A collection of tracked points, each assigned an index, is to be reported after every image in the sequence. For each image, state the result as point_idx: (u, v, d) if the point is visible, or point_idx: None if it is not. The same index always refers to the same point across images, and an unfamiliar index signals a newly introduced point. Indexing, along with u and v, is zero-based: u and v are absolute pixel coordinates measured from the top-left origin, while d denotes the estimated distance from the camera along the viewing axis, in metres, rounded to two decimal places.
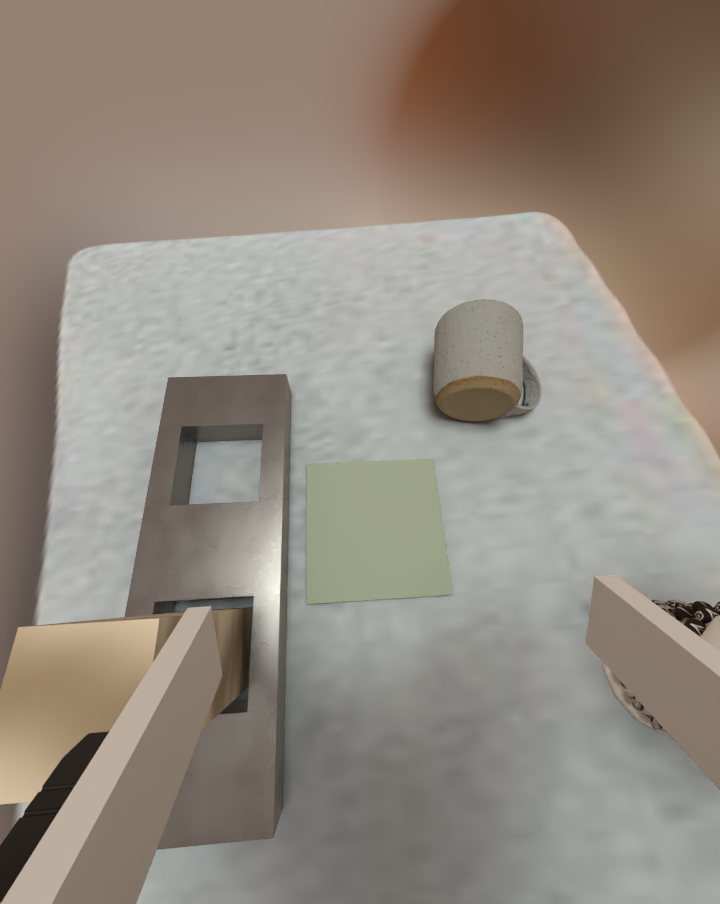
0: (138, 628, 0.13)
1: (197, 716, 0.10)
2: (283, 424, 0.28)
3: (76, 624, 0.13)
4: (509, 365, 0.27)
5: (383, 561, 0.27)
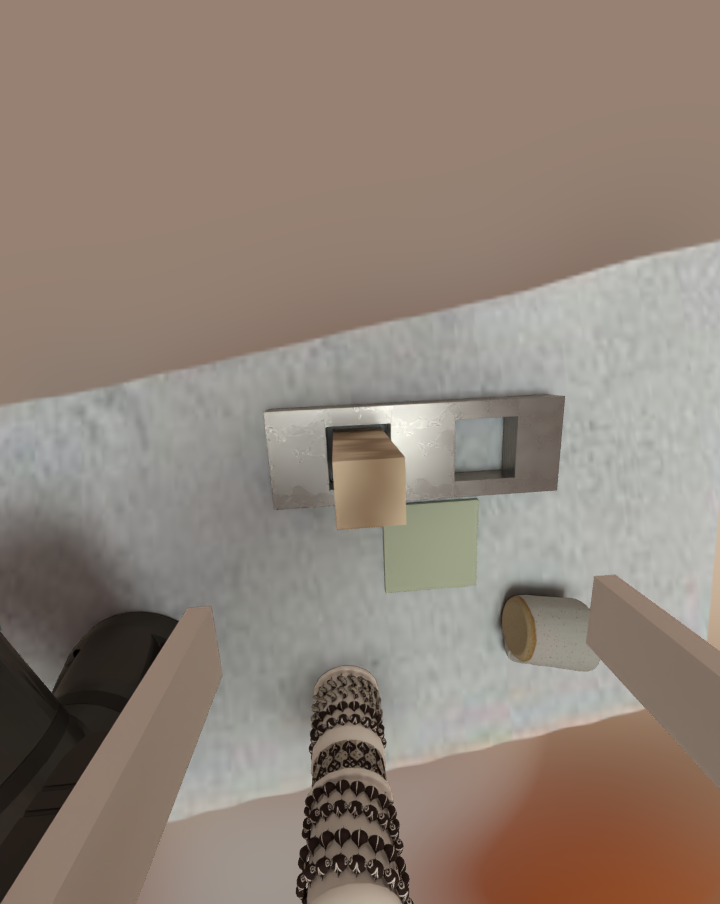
0: (402, 515, 0.25)
1: (197, 716, 0.10)
2: (512, 492, 0.37)
3: (405, 484, 0.24)
4: (542, 661, 0.37)
5: (407, 552, 0.40)
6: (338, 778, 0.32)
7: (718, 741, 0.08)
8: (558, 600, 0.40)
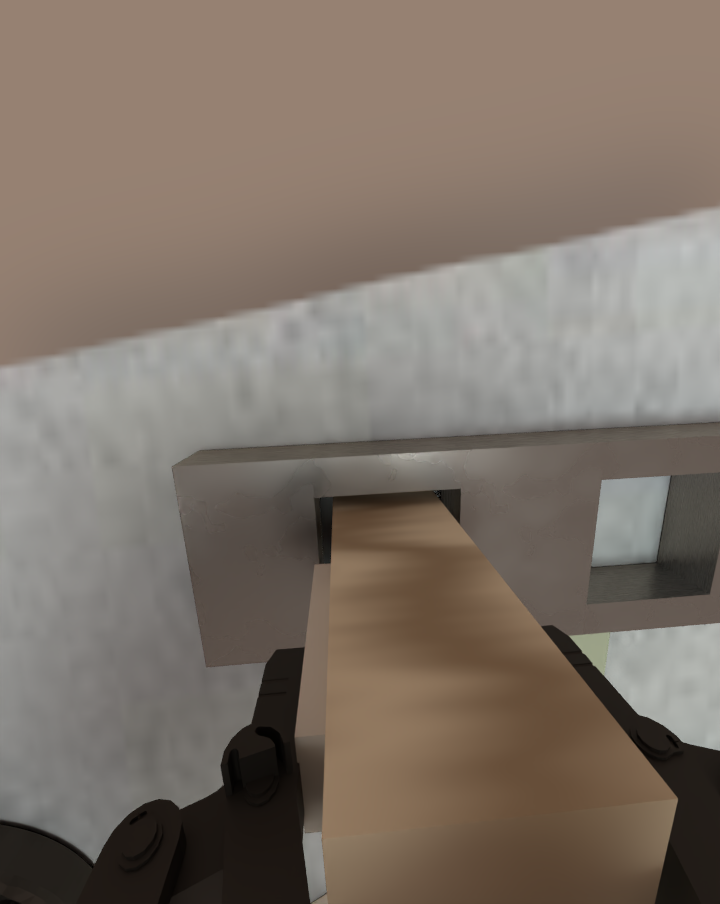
0: None
1: None
2: (701, 622, 0.18)
3: (649, 885, 0.05)
4: None
5: None
6: None
7: None
8: None
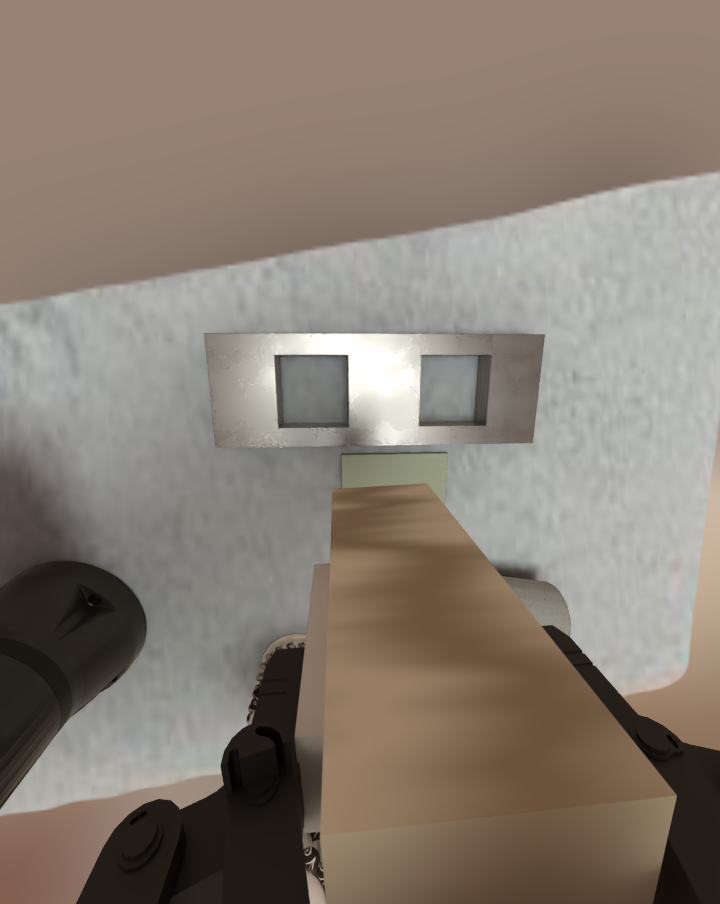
0: None
1: None
2: (483, 442, 0.33)
3: (647, 882, 0.05)
4: None
5: None
6: None
7: None
8: (527, 581, 0.37)
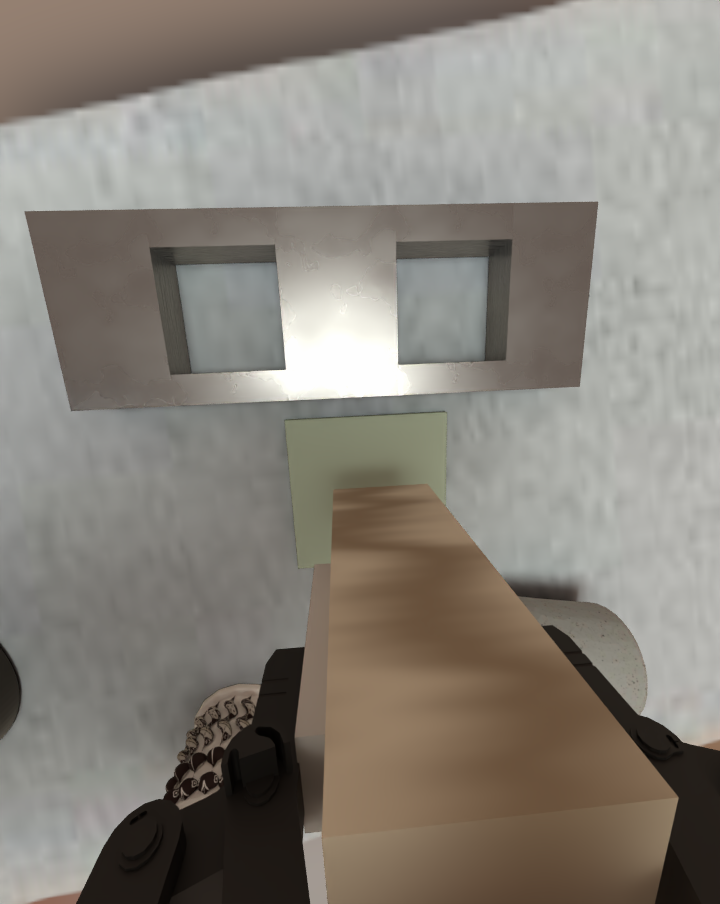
0: None
1: None
2: (502, 388, 0.21)
3: (649, 884, 0.05)
4: None
5: (330, 501, 0.25)
6: None
7: None
8: (571, 606, 0.25)
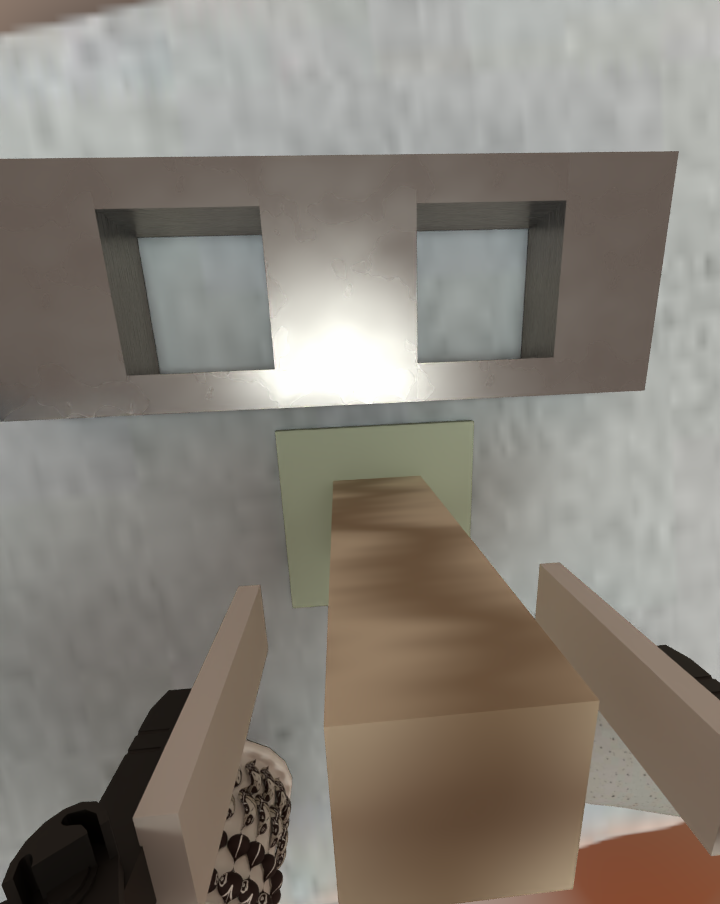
0: (562, 867, 0.07)
1: (253, 682, 0.11)
2: (547, 392, 0.17)
3: None
4: (594, 801, 0.18)
5: None
6: None
7: (629, 707, 0.09)
8: None
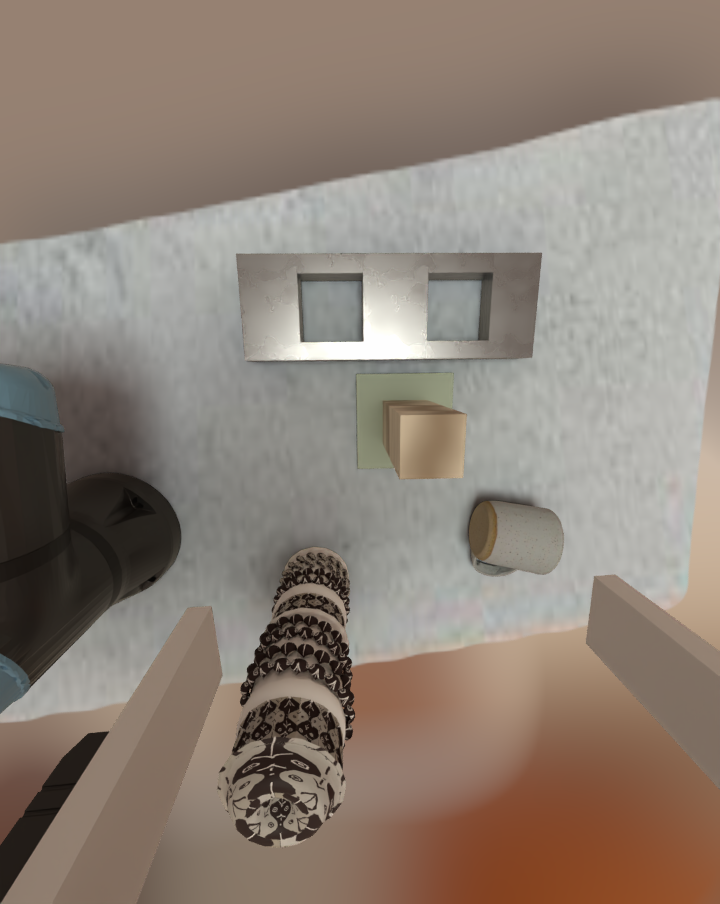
0: (459, 469, 0.27)
1: (197, 716, 0.10)
2: (486, 356, 0.36)
3: (464, 439, 0.27)
4: (502, 557, 0.38)
5: (380, 426, 0.40)
6: (292, 615, 0.32)
7: (718, 741, 0.08)
8: (524, 505, 0.40)
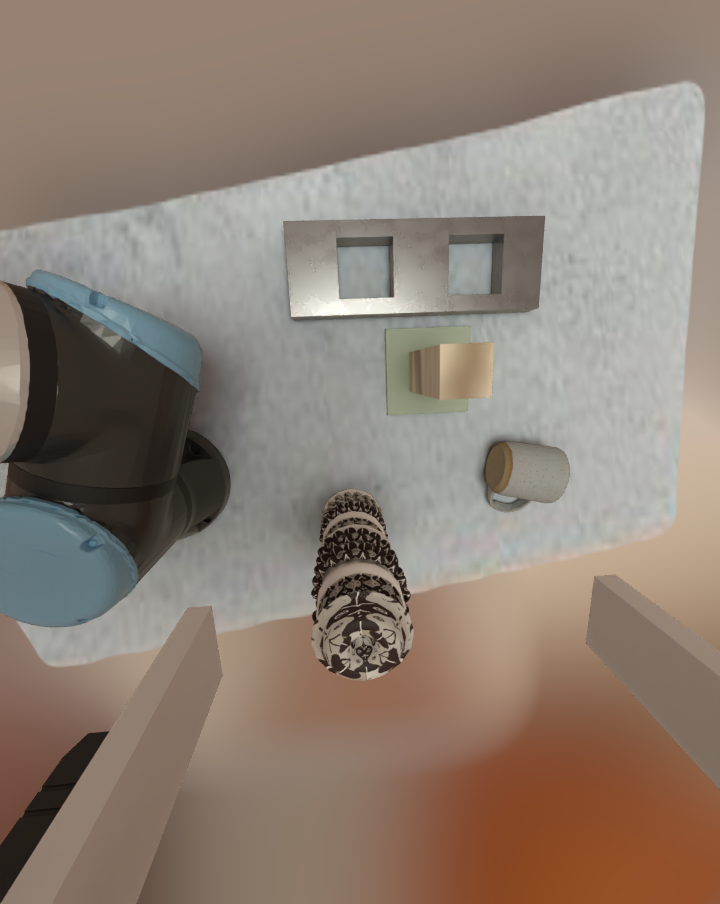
0: (488, 389, 0.33)
1: (196, 716, 0.10)
2: (499, 308, 0.42)
3: (492, 364, 0.32)
4: (517, 486, 0.43)
5: (407, 375, 0.46)
6: (346, 530, 0.38)
7: (718, 741, 0.08)
8: None
